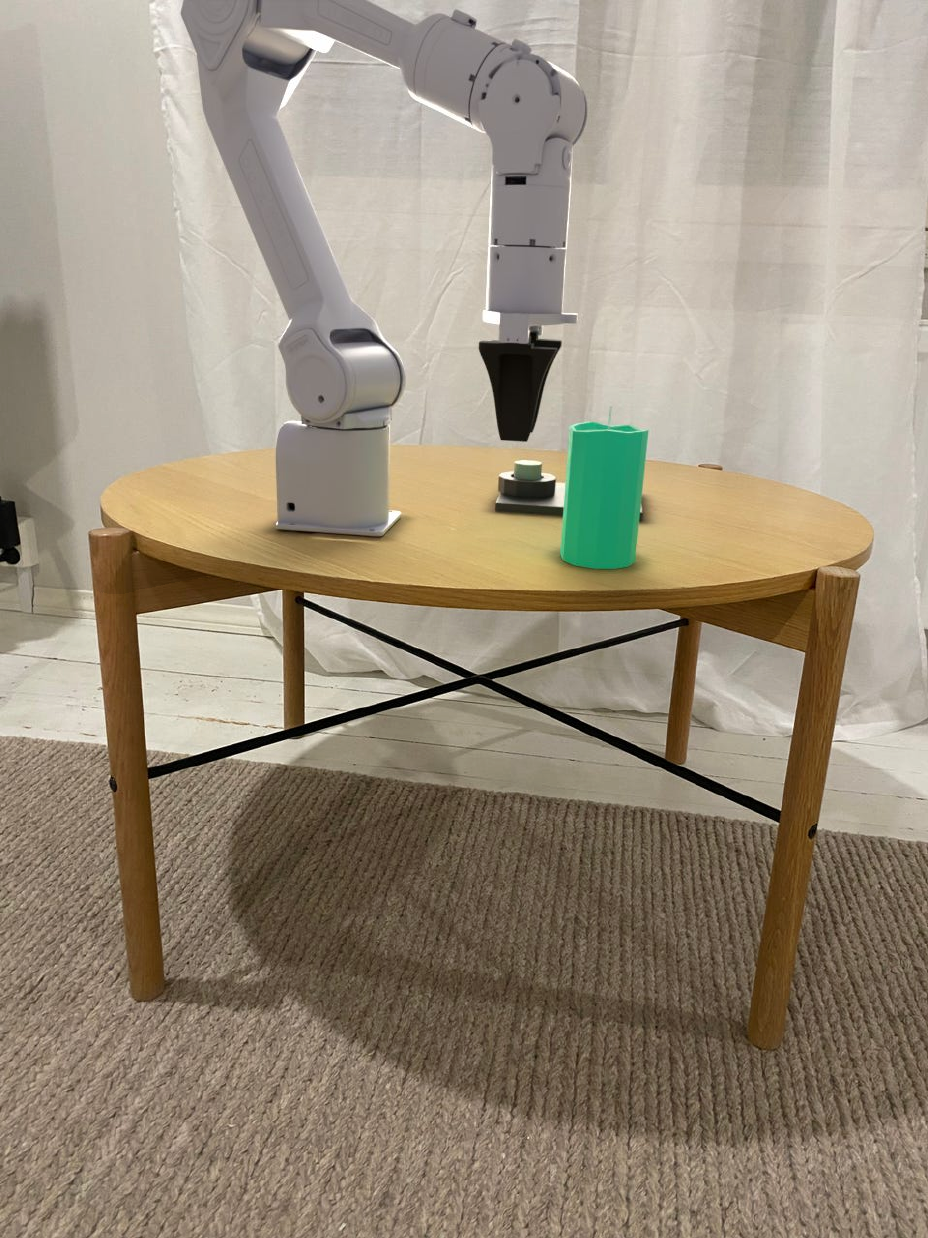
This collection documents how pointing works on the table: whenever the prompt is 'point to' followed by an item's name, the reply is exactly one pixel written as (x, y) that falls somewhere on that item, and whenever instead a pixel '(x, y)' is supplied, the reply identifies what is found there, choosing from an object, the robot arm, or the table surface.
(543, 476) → the scale
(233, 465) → the table surface
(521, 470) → the button
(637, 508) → the candle
